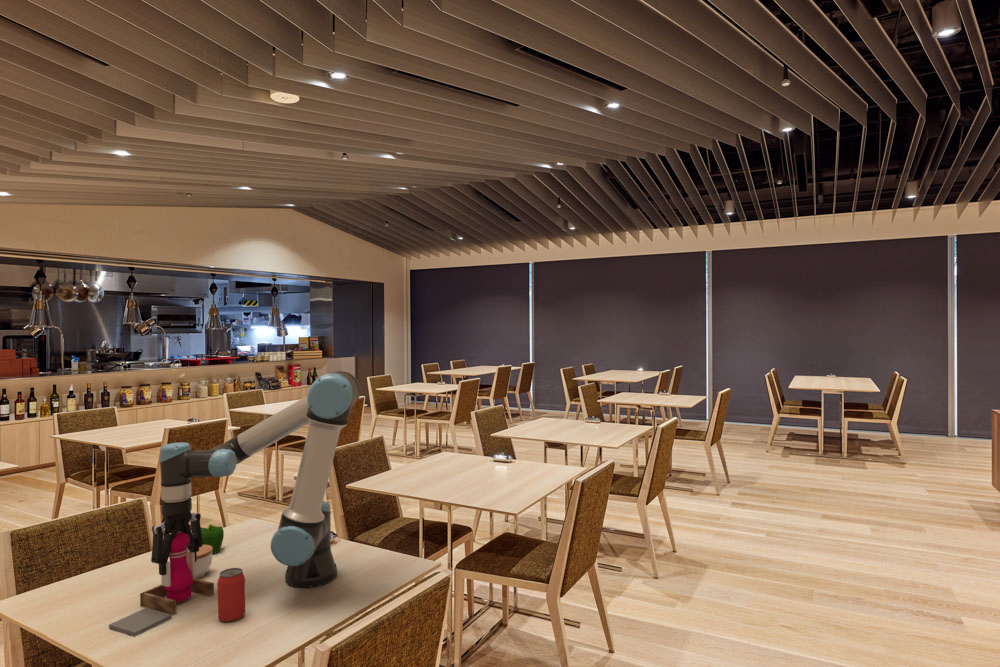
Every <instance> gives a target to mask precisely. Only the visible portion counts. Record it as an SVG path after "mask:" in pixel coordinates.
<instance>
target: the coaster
mask: <svg viewBox="0 0 1000 667" xmlns="http://www.w3.org/2000/svg"><path fill="white" fill-rule="evenodd" d="M172 616H173V615H171V614H167V613H164V612H160V611H156V610H153V609H149V608H145V607H144V608H143V609H141V610H138V611H136V612H134V613H132V614H131V613H130V614H129V615H128V616H124V617H123V618H121V619H119V620H116V621H114V622H112V623H110V624H108V629H110V630H112V631H116V632H119V633H121V634H126V635H130V636H131V637H138V636H139V635H141V634H143V633H145V632H147V631H149V630H151V629H153V628H155V627H157V626H159V625H161V624H164V623H165V622H167V621H170V620H172Z"/></svg>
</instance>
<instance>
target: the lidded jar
mask: <svg viewBox="0 0 1000 667" xmlns="http://www.w3.org/2000/svg"><path fill="white" fill-rule="evenodd" d="M187 551H189V550H187ZM212 552H213V547H212V546H210V545H204V544H203V546H202V547H199V551H198V552H196V553H197V560H196V562H195V575H194V576H193V578H195V579H200V578H201V577H203V576H205V574H206V573H207V572H208V570H209V569H210V568H211V565H212V563H213V553H212Z"/></svg>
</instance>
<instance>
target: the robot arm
mask: <svg viewBox="0 0 1000 667" xmlns="http://www.w3.org/2000/svg"><path fill="white" fill-rule="evenodd" d="M360 394H361V386H360V382H359V381H358V379H357V378H356V377H355V376H354V375H353V374H352V373H350V372H347V371H341V370H339V371H334V372H331V373H326V374H323V375H321V376H319V377H318V378H317V379H316V380H314V381H313V383H312V384H311V385H310V386H309V389H308V391H307V395H306V396H304V397H302V398H300V399H299V400H297V401H295V402H294V403H291V404H290V405H289V406H286V407H285V408H283V409H281V410H279V411H278V412H275V413H274V414H273V415H271V416H269V417H267V418H265V419H264V420H262V421H260V422H258V423H257V424H255V425H253V426H252V427H249V428H248V429H246V430H244V431H242V432H241V433H239V434H237V435H235V436H234V437H232V438H230V439H228V440H227V441H224V442H223V443H220V444H218V445H216V446H214V447H212V448H210V449H202V450H201V449H200V450H199V449H197V450H196V449H195V450H194V449H191V445H190V443H189V442H171V443H167V444H165V445H163V446H161V448H160V453H159V454H160V455H159V467H160V468H159V469H160V498H161V500H162V501H161V503H160V505H161V507H160V508H161V510H160V512H161V515H162V520H161V523H160V524H158V525H154V526H152V527H151V531H152V536H153V537H152V545H151V546H152V548H151V558H150V561H151V563H153V564H157V565H158V574H159V576H160V577H161V578H160V580H161V584H162V586H167V587H169V586H171V575H170V561H168V560H169V554H170V550H171V546H172V542H173V539H174V538H175V536H176V533H178V532H184V533H186V534H187V535H188V536H189V539H190V542H189V545H188V546H187V548H188V550H189V551H188V554H187V555H186V560H187V565H188V567H189V569H190V571H191V573H192V576H194V575H195V562H196V560H197V553H196V552H198V551H199V547H202V546H203V541H202V534H201V513H199V512H192V511H193V510H192V509H193V508H192V502H193V501H192V497H191V496H192V492H193V491H192V478H221V477H222V478H223V477H228V476H231V475H232V474H234V472H235V470H236V467H237V465H239V464H240V463H243V462H244V461H245V460H246V459H249V458H250V457H252V456H254V455H255V454H257V453H259V452H260V451H262V450H264V449H266V448H267V447H269V446H271V445H273V444H275V443H277V442H278V441H280V440H281V439H284V438H286V437H287V436H289V435H291V434H292V433H294V432H296V431H298V430H299V429H301V428H303V427H305V426H306V425H308V424H309V426H308V430H307V435H306V438H305V443H304V447H303V451H302V455H301V459H300V463H299V467H298V470H297V476H296V479H295V484H294V487H293V492H292V496H291V500H290V503H289V505H288V506H287V507H285V508H284V509H282V511H281V512H282V513H281V516H280V521H279V523H278V524H279V525H278V528H277V530H276V531H275V532H274V534H273V536H272V537H271V540H270V550H271V553H272V556H274V558H275V560H276V561H277V562H279V563H280V564H282V565H283V566H287V568H286V570H285V573H284V574H285V576H284V578H285V579H284V582H285V583H286V585H288V586H290V587H294V588H300V589H301V588H302V589H303V588H314V587H319V586H322V585H325V584H328V583H330V582H331V581H333V580H335V579H336V577H337V576H338V567H337V564H336V563H335V560H334V556H333V553H332V547H331V546H332V545H331V543H332V542H331V541H332V540H331V538H332V536H331V535H332V534H331V533H332V532H331V531H332V530H331V525H332V523H331V513H332V511H331V505H330V503H329V502H327V501H324V498H325V495H326V490H327V486H328V483H329V479H330V475H331V470H332V467H333V466H332V465H333V461H334V457H335V453H336V450H337V446H338V441H339V437H340V433H341V430H342V429H343V428H345V427H346V426H348V423H349V420H350V415H351V413H352V412H351V411H352V409H353V406H354V405H356V403H357V402H358V400H359V399H360ZM189 523H190V524H189Z"/></svg>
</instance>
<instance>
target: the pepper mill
mask: <svg viewBox="0 0 1000 667" xmlns="http://www.w3.org/2000/svg"><path fill="white" fill-rule="evenodd" d="M189 542H190V539H189V536H188V535H187V534H186V533H184V532H178V533H176V536H175V538H174V539H173V542H172V546H171V550H170V554H169V557H168V559H169V562H170V575H171V586H169V587H167V586H164V588H165V590H167V591H168V593H167V594H166V597H165V598H169V599H172V600H176V603H181V602H184V601H186V600H189V599H190V598H191V597H192V594H193V592H192V590H191V588H190V586H191V585H192V583H193V576H192V573H191V571H190V569H189V567H188V565H187V560H186V555H187V554H188V551H187V550H188V548H187V546H188V545H189Z"/></svg>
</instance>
